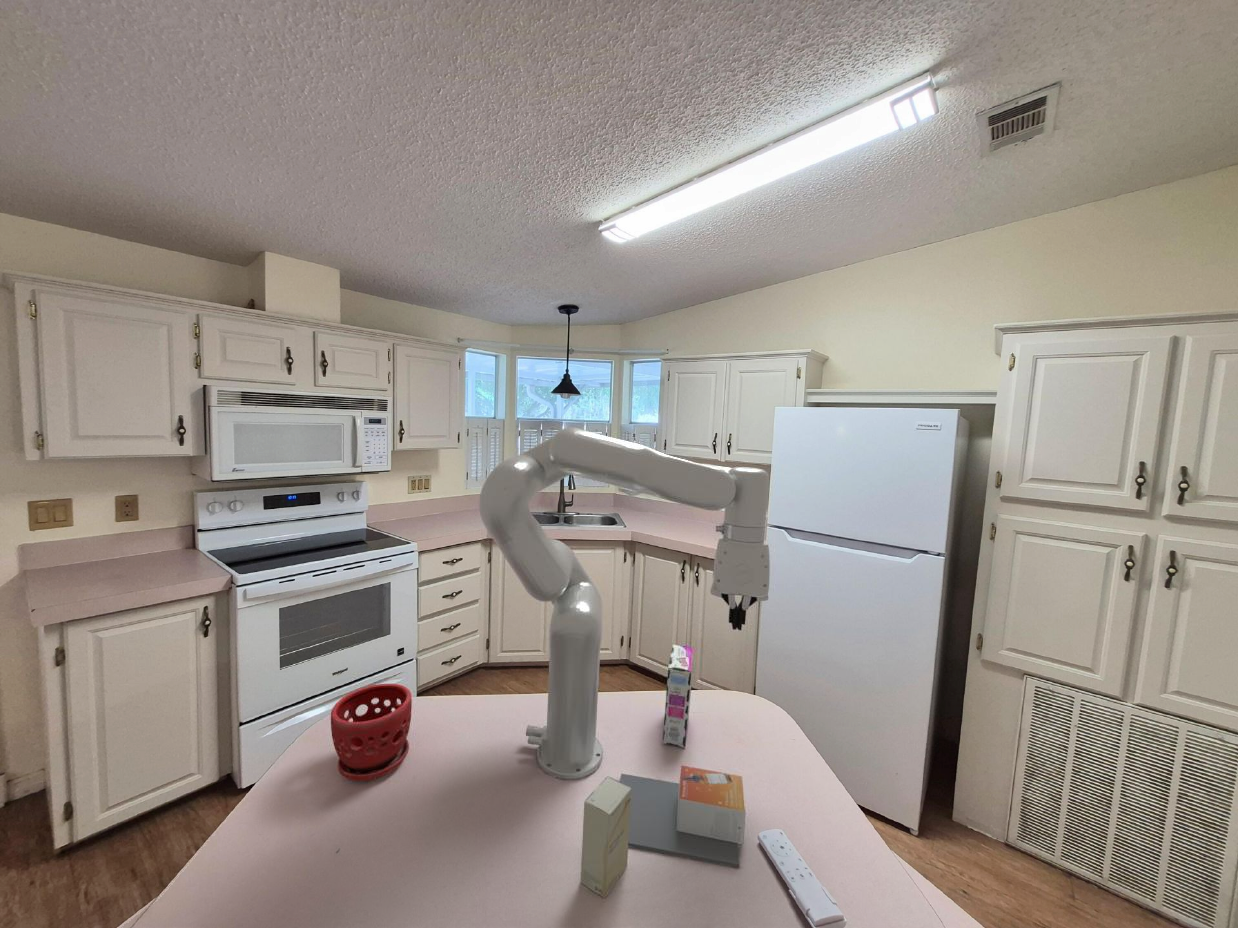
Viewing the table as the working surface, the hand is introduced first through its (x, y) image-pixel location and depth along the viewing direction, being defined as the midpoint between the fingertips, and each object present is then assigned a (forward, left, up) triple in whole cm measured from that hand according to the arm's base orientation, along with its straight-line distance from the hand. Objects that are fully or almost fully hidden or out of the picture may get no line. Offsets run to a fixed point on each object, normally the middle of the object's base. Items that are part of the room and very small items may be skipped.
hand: (736, 626), depth 90 cm
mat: (-10, -16, -27) cm, 33 cm away
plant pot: (-65, -16, -27) cm, 72 cm away
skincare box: (-19, -28, -27) cm, 43 cm away
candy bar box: (-10, +7, -27) cm, 30 cm away
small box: (+2, -16, -24) cm, 29 cm away
